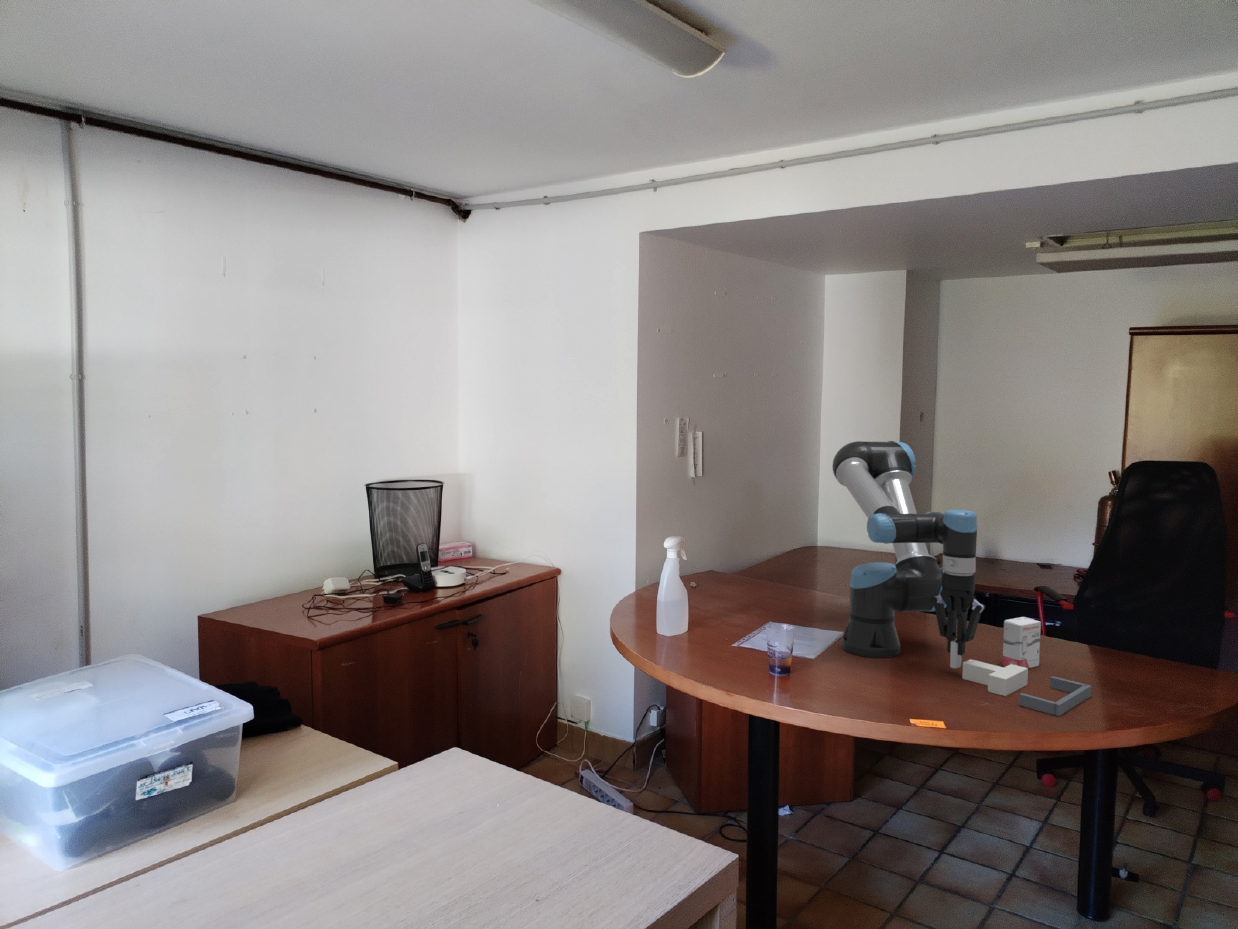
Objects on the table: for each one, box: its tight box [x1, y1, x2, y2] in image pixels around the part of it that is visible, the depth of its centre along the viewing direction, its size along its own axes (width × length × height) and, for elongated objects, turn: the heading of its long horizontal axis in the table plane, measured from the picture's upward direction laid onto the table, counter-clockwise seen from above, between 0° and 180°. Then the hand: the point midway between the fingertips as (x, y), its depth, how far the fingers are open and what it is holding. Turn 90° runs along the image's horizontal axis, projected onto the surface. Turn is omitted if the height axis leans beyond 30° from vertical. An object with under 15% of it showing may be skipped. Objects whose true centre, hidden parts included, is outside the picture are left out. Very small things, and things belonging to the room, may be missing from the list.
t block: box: [962, 658, 1029, 697], centre depth 189 cm, size 12×12×4 cm
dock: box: [1018, 675, 1092, 717], centre depth 178 cm, size 8×18×2 cm, turn 131°
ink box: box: [1002, 616, 1042, 669], centre depth 202 cm, size 9×5×12 cm, turn 118°
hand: (955, 666), depth 195 cm, fingers closed
